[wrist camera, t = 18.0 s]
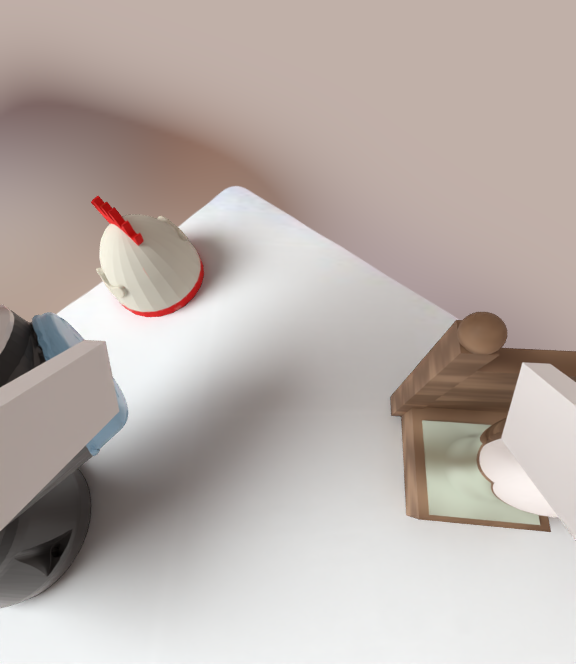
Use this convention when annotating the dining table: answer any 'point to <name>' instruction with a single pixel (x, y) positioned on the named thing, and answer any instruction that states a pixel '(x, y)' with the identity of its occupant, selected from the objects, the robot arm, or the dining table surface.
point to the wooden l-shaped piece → (462, 416)
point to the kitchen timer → (147, 262)
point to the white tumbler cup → (492, 473)
